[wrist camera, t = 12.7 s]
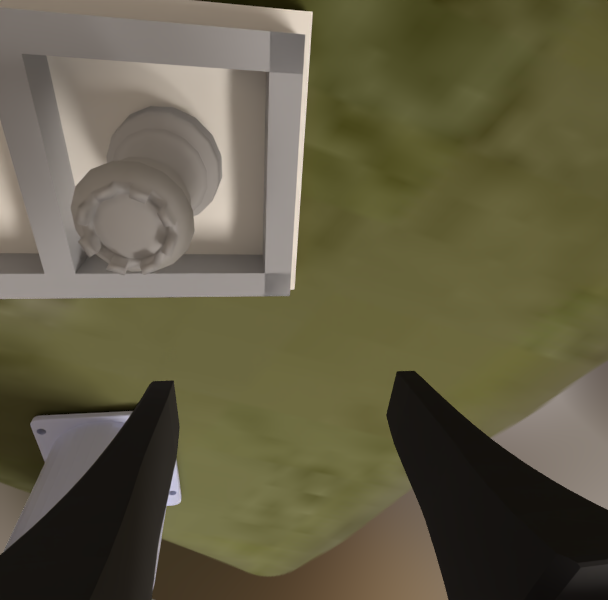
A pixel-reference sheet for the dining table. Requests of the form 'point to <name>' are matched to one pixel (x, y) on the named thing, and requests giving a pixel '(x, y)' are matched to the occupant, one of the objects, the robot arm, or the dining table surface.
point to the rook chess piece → (147, 191)
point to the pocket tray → (134, 97)
